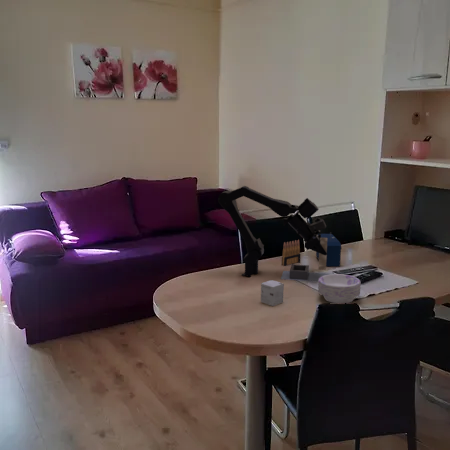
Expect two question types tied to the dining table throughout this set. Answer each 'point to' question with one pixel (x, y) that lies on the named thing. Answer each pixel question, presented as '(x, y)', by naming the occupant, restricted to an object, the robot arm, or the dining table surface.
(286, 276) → the base board
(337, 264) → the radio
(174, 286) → the dining table surface
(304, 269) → the end cap
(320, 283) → the paper bowls
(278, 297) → the skincare box
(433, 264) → the dining table surface
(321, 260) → the slat
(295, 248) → the ammunition clip
